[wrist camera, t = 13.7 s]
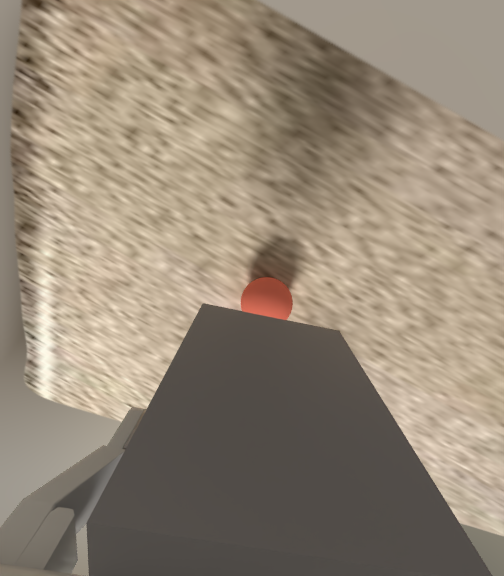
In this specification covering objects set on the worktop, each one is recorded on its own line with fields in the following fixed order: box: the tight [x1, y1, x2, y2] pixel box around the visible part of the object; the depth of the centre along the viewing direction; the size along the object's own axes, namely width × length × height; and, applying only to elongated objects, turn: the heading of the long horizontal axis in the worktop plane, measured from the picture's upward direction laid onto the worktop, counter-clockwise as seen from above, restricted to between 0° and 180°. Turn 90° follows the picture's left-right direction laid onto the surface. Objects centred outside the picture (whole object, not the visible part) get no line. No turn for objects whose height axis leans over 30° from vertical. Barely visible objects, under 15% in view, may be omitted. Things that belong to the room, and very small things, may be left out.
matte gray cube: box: [87, 303, 492, 576], centre depth 9 cm, size 7×7×9 cm
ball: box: [241, 277, 293, 320], centre depth 23 cm, size 5×5×5 cm
